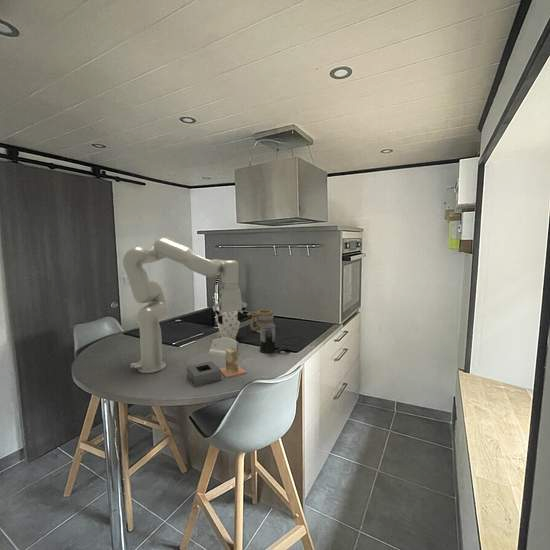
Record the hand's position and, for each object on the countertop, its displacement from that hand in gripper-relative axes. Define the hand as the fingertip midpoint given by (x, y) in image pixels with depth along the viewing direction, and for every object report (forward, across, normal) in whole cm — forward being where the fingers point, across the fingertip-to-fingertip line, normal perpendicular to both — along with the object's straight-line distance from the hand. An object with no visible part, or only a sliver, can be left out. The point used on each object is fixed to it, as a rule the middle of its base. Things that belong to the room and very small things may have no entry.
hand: (230, 322), depth 143 cm
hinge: (+25, +7, +23) cm, 35 cm away
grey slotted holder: (+24, -13, -1) cm, 28 cm away
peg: (+24, +1, -1) cm, 24 cm away
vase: (+25, +17, +42) cm, 52 cm away
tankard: (+25, +43, +48) cm, 70 cm away
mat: (+24, +1, -1) cm, 24 cm away
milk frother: (+24, +33, +12) cm, 43 cm away
